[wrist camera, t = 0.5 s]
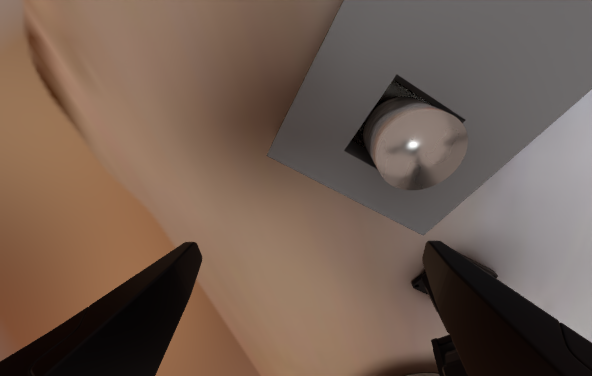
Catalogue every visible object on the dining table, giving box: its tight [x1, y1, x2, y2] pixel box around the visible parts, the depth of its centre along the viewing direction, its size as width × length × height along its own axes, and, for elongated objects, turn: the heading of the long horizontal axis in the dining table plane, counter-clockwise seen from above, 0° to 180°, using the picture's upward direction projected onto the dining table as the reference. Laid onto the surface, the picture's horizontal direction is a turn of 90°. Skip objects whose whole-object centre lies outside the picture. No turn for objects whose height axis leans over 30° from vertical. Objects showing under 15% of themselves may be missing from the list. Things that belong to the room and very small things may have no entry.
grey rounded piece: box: [363, 97, 468, 190], centre depth 13 cm, size 4×4×4 cm
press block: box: [267, 0, 592, 235], centre depth 13 cm, size 14×24×4 cm, turn 152°
